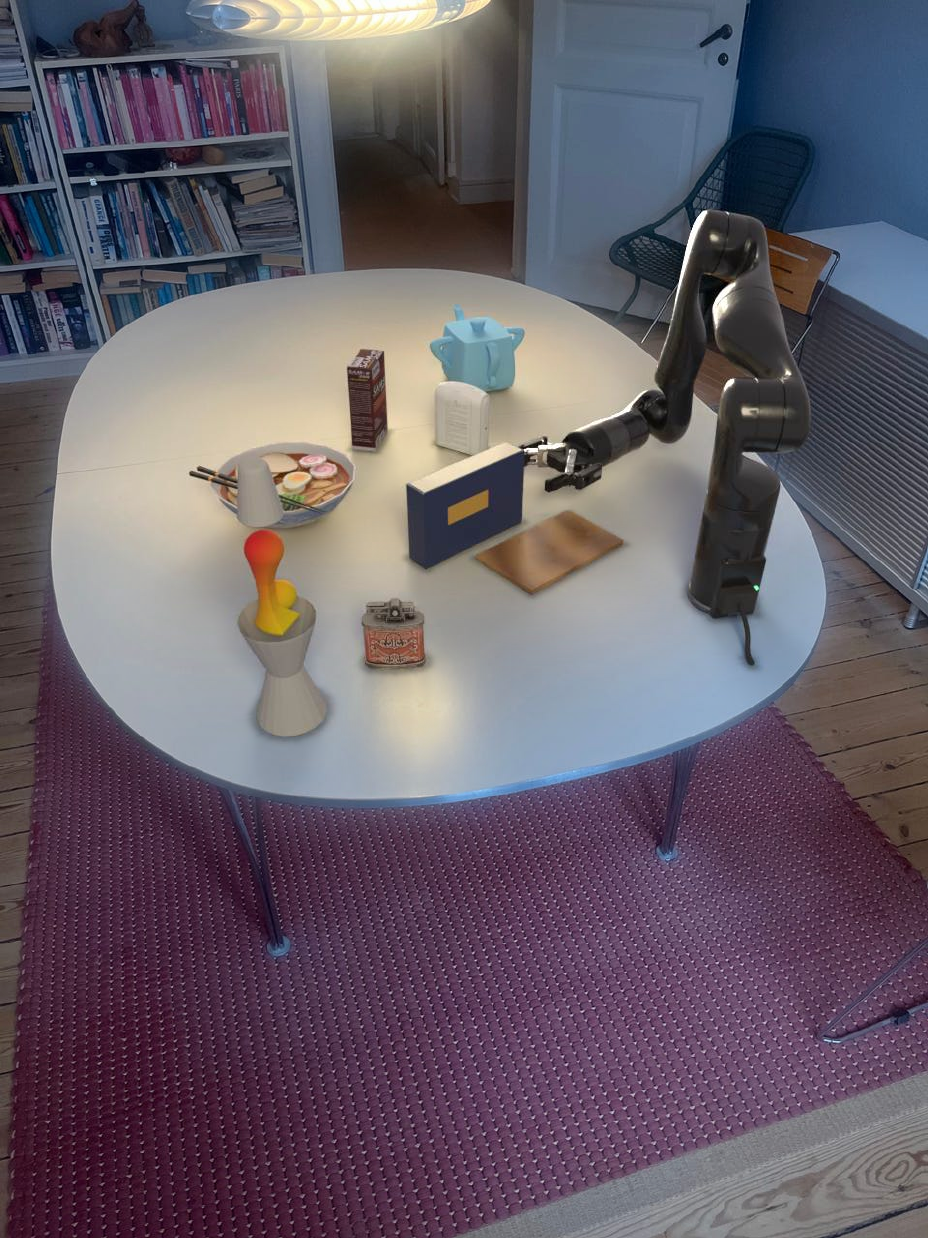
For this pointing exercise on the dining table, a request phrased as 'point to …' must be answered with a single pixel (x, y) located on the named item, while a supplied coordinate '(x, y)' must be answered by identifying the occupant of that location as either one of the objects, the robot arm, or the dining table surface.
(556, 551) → the cork mat
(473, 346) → the teapot
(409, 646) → the lighter
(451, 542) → the book
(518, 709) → the dining table surface
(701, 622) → the dining table surface
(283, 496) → the ramen bowl
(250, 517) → the lava lamp
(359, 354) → the supplement box
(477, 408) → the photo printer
